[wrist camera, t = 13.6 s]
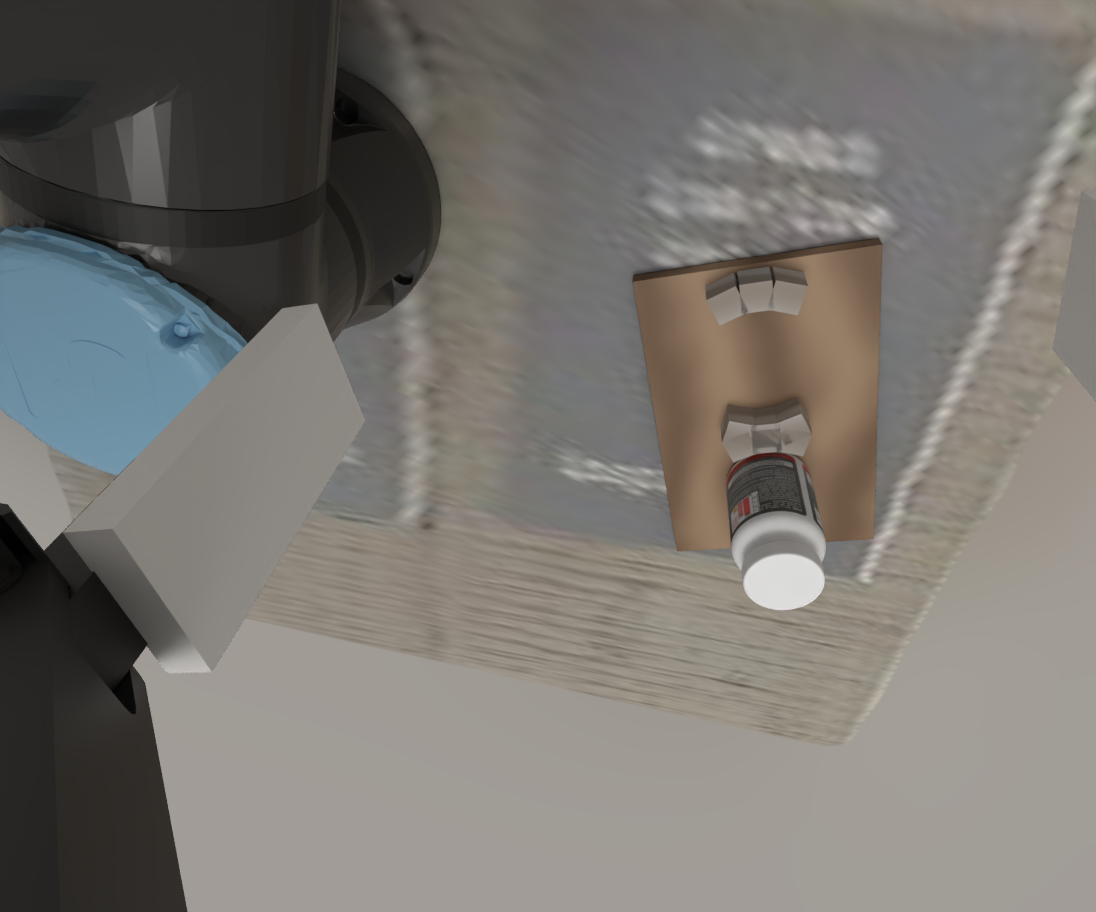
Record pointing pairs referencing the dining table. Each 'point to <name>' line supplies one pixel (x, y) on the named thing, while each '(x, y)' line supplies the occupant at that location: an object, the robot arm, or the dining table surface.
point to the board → (766, 380)
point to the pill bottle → (776, 530)
